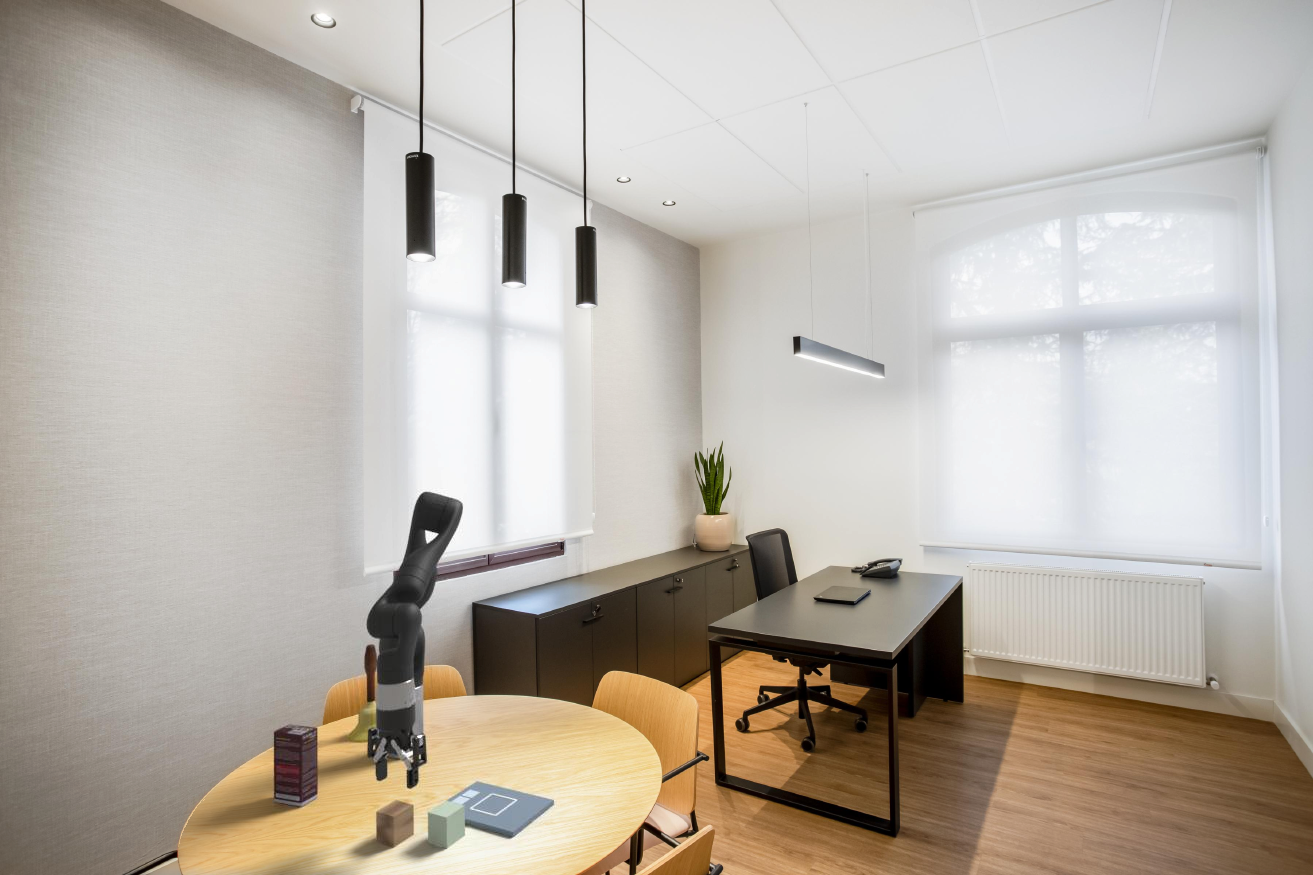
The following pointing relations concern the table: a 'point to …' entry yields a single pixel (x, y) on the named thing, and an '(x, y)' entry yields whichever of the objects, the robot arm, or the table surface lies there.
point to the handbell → (369, 710)
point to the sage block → (446, 824)
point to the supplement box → (295, 765)
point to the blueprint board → (500, 808)
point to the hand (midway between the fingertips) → (397, 782)
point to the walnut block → (394, 823)
